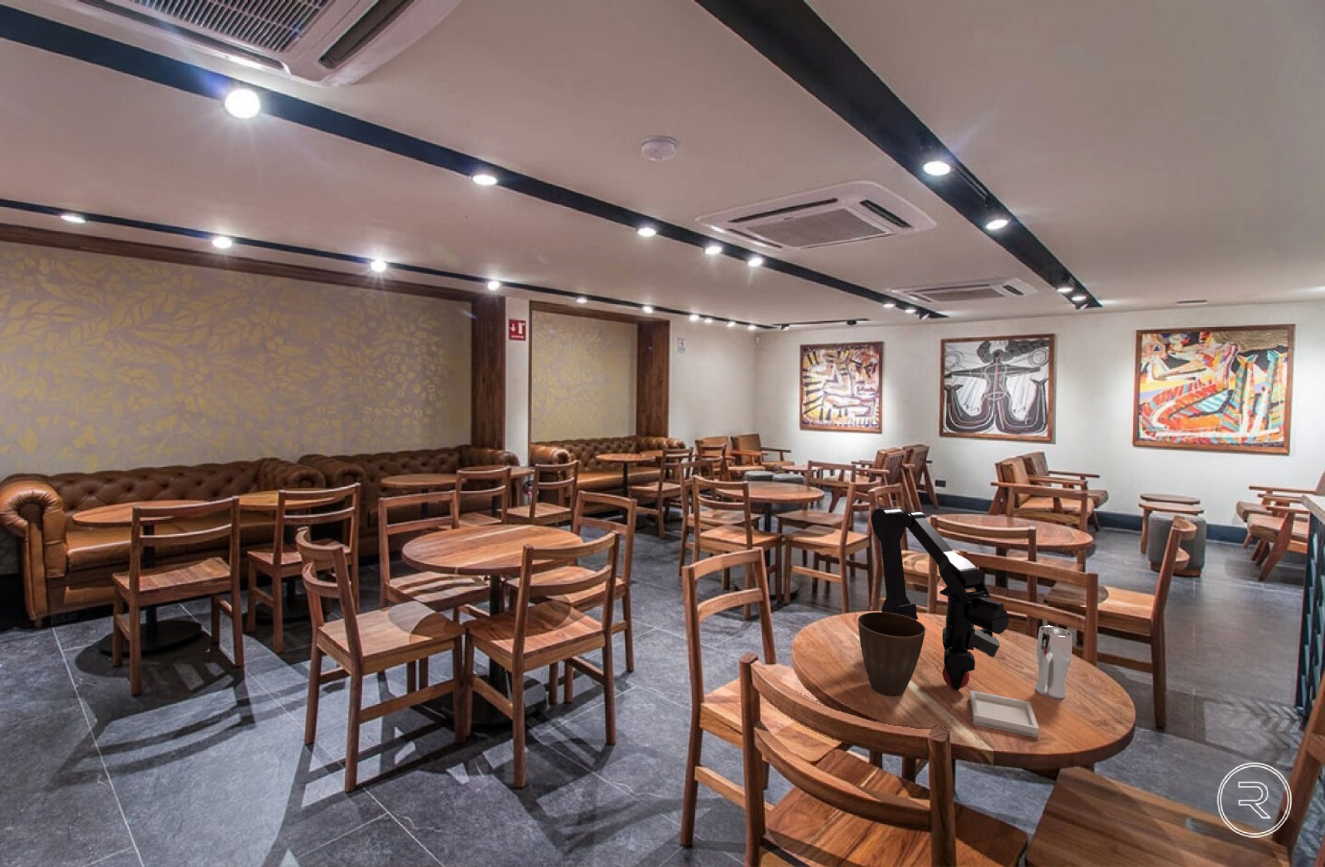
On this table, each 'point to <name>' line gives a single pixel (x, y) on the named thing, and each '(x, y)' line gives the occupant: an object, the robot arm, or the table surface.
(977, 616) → the robot arm
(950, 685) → the onion
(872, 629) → the plant pot
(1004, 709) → the dish
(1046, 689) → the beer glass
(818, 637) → the table surface
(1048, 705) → the table surface
